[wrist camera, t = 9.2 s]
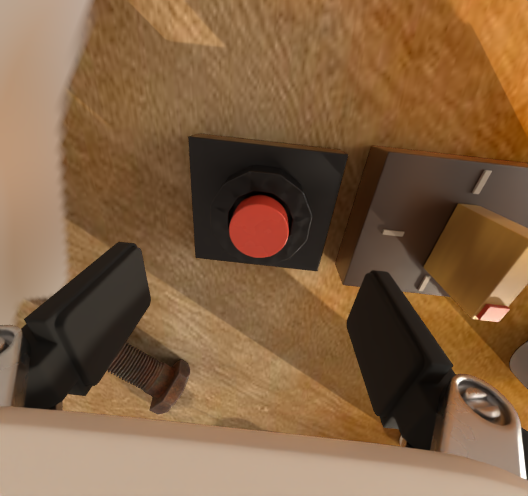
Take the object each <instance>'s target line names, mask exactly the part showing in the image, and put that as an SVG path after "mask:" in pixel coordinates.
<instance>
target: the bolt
mask: <svg viewBox="0 0 528 496" xmlns="http://www.w3.org/2000/svg"><path fill="white" fill-rule="evenodd" d="M136 349H137V348H134V346H133V347H131V345H129V343H127V344H126V342H125V344H124V345H123V347H122V348H121V350H120V351H119V353H118V354H117V356H116V357H115V359H114V360H113V362H112V363H111V365H110V366H109V368H108V369H107V370H108V372H110V371H111V374H112V373H114V375H116V374H117V376H116V377H118V376H119V378H121V377H122V380H123V379H125V381H127V382H128V383H129V382H130V384H132V383H133V385H135V386H136V387H137V386H138V388H140V387H141V389H142V390H143V391H144V392H145V393H147V394H149V395H151V396H152V397H153V398H152V402H151V406H150V411H152V412H154V413H156V414H163V413H166V412H168V411H169V410H170V409H171V407H172V406H173V405H174V404H175V403H176V401H177V400H178V399H179V397H180V396H181V394H182V393H183V391H184V388H185V386H186V384H187V381H188V378H189V375H190V367H189V365H188V363H187V362H185V361H183V360H182V359H180V360H179V361H178V362H176V363H175V364H174V365H173V366H169V365H167V364H166V363H164V362H159V360H156V359H154V358H152V357H151V356H150V357H149V355H147V354H144V352H142V351H139V349H138V350H136Z"/></svg>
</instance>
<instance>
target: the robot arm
mask: <svg viewBox="0 0 528 496" xmlns="http://www.w3.org/2000/svg"><path fill="white" fill-rule="evenodd" d="M150 301H151V297H150V292H149V287H148V282H147V277H146V272H145V267H144V261H143V256H142V251H141V249H140V248H138V247H137V245H136V244H134V243H125V242H118V243H116V244H115V245H114V246H113V247H111V248H110V249H109V250H108V251H107V252H105V253H104V254H103V255H102V256H101V257H99V258H98V259H97V260H96V261H94V262H93V263H92V264H91V265H90V266H88V267H87V268H86V269H85V270H83V271H82V272H81V273H80V274H79V275H77V276H76V277H75V278H74V279H72V280H71V281H70V282H69V283H68V284H66V285H65V286H64V287H63V288H62V289H60V290H59V291H58V292H57V293H55V294H54V295H53V296H52V297H51V298H49V299H48V300H47V301H46V302H44V303H43V304H42V305H41V306H40V307H38V308H37V309H36V310H35V311H33V312H32V313H31V314H30V315H29V316H27V317H26V318H25V319H24V320H25V322H26V325H25V326H24V327H23V328H22V329H20V328H19V327H17V326H13V325H0V496H528V431H526V430H525V429H523V428H522V427H521V424H520V420H519V417H518V414H517V412H516V411H515V409H514V407H513V406H512V404H511V403H510V402H509V401H508V400H507V399H506V398H505V397H504V396H503V395H502V394H501V393H500V392H499V391H498V390H496V389H495V388H494V387H493V386H491V385H490V384H488V383H486V382H485V381H483V380H481V379H479V378H477V377H475V376H471V375H467V374H458V375H456V374H455V373H454V371H453V370H452V367H453V364H452V363H451V362H450V360H449V359H448V357H447V356H446V354H445V353H444V351H443V350H442V349H441V347H440V346H439V344H438V343H437V341H436V340H435V338H434V337H433V336H432V334H431V333H430V331H429V330H428V328H427V327H426V325H425V324H424V323H423V321H422V320H421V318H420V317H419V315H418V314H417V312H416V311H415V310H414V308H413V307H412V305H411V304H410V302H409V301H408V299H407V298H406V297H405V295H404V294H403V292H402V291H401V289H400V288H399V286H398V285H397V284H396V282H395V281H394V279H393V278H392V276H391V275H390V274H389V273H388V272H386V271H377V270H372V271H371V272H370V273H367V274H366V275H365V277H364V279H363V282H362V284H361V287H360V289H359V292H358V294H357V297H356V299H355V302H354V304H353V307H352V309H351V312H350V314H349V317H348V319H347V329H348V333H349V336H350V339H351V342H352V345H353V348H354V351H355V354H356V357H357V360H358V364H359V367H360V370H361V373H362V376H363V379H364V382H365V385H366V388H367V392H368V395H369V398H370V401H371V404H372V407H373V410H374V412H375V414H376V415H377V416H380V419H381V422H382V425H383V427H384V428H394V429H399V431H400V433H401V437H400V441H399V442H400V445H401V447H399V446H392V445H384V444H376V443H368V442H359V441H350V440H341V439H332V438H323V437H314V436H305V435H296V434H287V433H278V432H268V431H259V430H249V429H240V428H230V427H221V426H211V425H202V424H192V423H183V422H173V421H163V420H153V419H143V418H133V417H123V416H113V415H103V414H93V413H83V412H73V411H62V401H63V399H64V398H65V397H66V395H67V394H72V395H82V396H86V394H87V393H88V391H89V390H90V389H91V387H92V386H95V385H97V384H98V383H99V381H100V380H101V378H102V377H103V375H104V374H105V372H106V371H107V369H108V368H109V366H110V365H111V363H112V362H113V360H114V359H115V357H116V356H117V354H118V353H119V351H120V350H121V348H122V347H123V345H124V344H125V342H126V340H127V339H128V337H129V336H130V334H131V333H132V331H133V330H134V328H135V327H136V325H137V324H138V322H139V321H140V319H141V318H142V316H143V315H144V313H145V312H146V310H147V309H148V307H149V305H150Z"/></svg>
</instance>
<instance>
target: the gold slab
mask: <svg viewBox="0 0 528 496" xmlns="http://www.w3.org/2000/svg"><path fill="white" fill-rule="evenodd" d="M424 269H425V270H426V271H427V272H428V273H429V274H430V275H431V276H432V277H433V278H434V279H435V280H436V282H437V283H438V284H439V285H440V286H441V287H442V288H443V289H444V290H445V291H446V292H447V293H448V294H449V295H450V296H451V298H452V299H453V300H454V301H455V302H456V303H457V304H458V305H459V306H460V307H461V308H462V309H463V310H464V311H465V312H466V314H467V315H468V316H469V317H470V318H472V319H479V320H484V321H493V322H499V321H500V320H501V319H502V318H503V317H504V315H505V314H506V313H507V312H508V311H509V310H510V308H508V306H509V305H510V304H511V303H512V301H513V300H514V299H515V298H516V297H517V296H518V294H519V293H520V292H521V291H522V290H523V289H524V287H525V286H526V285H527V284H528V228H526V227H524V226H522V225H520V224H518V223H515V222H513V221H511V220H509V219H507V218H505V217H503V216H500V215H498V214H496V213H494V212H492V211H490V210H487V209H485V208H483V207H481V206H477V205H468V204H460V203H459V204H457V206H456V208H455V210H454V212H453V214H452V216H451V217H450V219H449V221H448V223H447V225H446V227H445V228H444V230H443V232H442V234H441V236H440V238H439V239H438V241H437V243H436V245H435V247H434V249H433V250H432V252H431V254H430V256H429V258H428V260H427V261H426V263H425V265H424Z"/></svg>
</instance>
